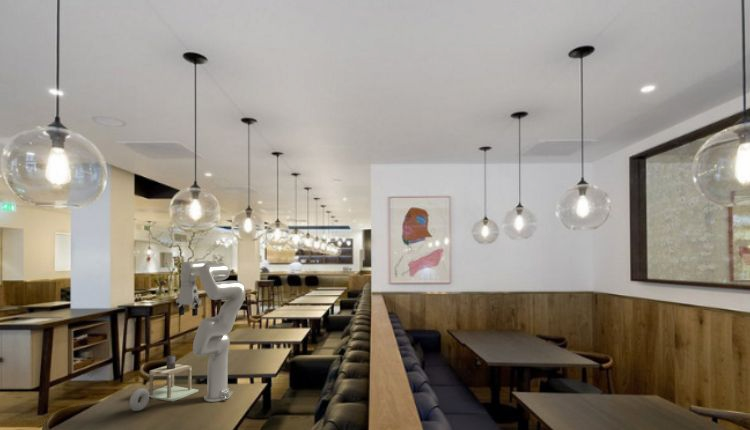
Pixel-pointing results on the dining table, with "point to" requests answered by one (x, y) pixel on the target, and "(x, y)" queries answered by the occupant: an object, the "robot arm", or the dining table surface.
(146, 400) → the donut
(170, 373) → the miniature stool
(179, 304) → the robot arm
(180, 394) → the mat
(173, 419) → the dining table surface
